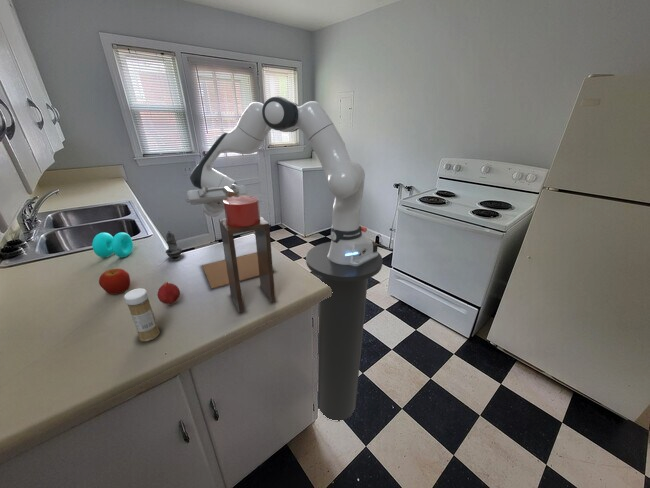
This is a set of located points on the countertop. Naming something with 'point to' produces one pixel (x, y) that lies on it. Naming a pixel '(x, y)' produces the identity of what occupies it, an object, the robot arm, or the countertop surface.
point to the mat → (220, 276)
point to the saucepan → (240, 209)
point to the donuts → (112, 244)
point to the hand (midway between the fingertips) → (220, 187)
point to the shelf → (262, 252)
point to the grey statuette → (173, 248)
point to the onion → (168, 293)
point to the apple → (115, 281)
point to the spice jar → (142, 314)
